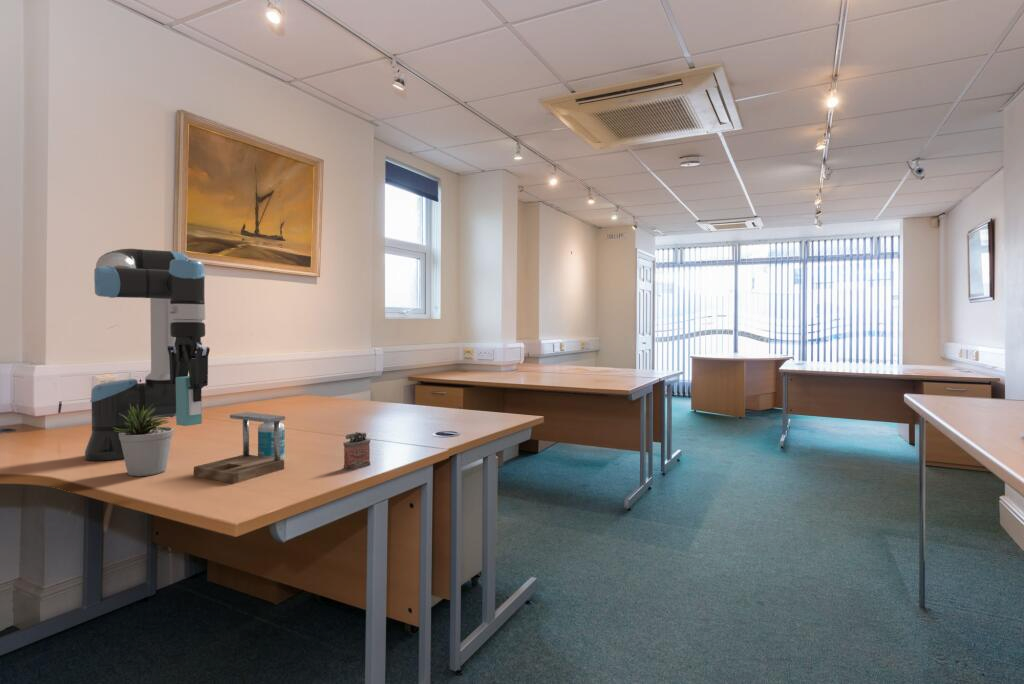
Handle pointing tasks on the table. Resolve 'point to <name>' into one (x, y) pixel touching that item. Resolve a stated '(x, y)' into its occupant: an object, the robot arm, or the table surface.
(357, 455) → the lighter
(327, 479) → the table surface
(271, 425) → the pill bottle
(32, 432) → the table surface
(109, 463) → the table surface
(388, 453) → the table surface
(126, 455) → the potted plant
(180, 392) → the peg
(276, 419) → the grey metal bridge
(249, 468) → the socket plate
